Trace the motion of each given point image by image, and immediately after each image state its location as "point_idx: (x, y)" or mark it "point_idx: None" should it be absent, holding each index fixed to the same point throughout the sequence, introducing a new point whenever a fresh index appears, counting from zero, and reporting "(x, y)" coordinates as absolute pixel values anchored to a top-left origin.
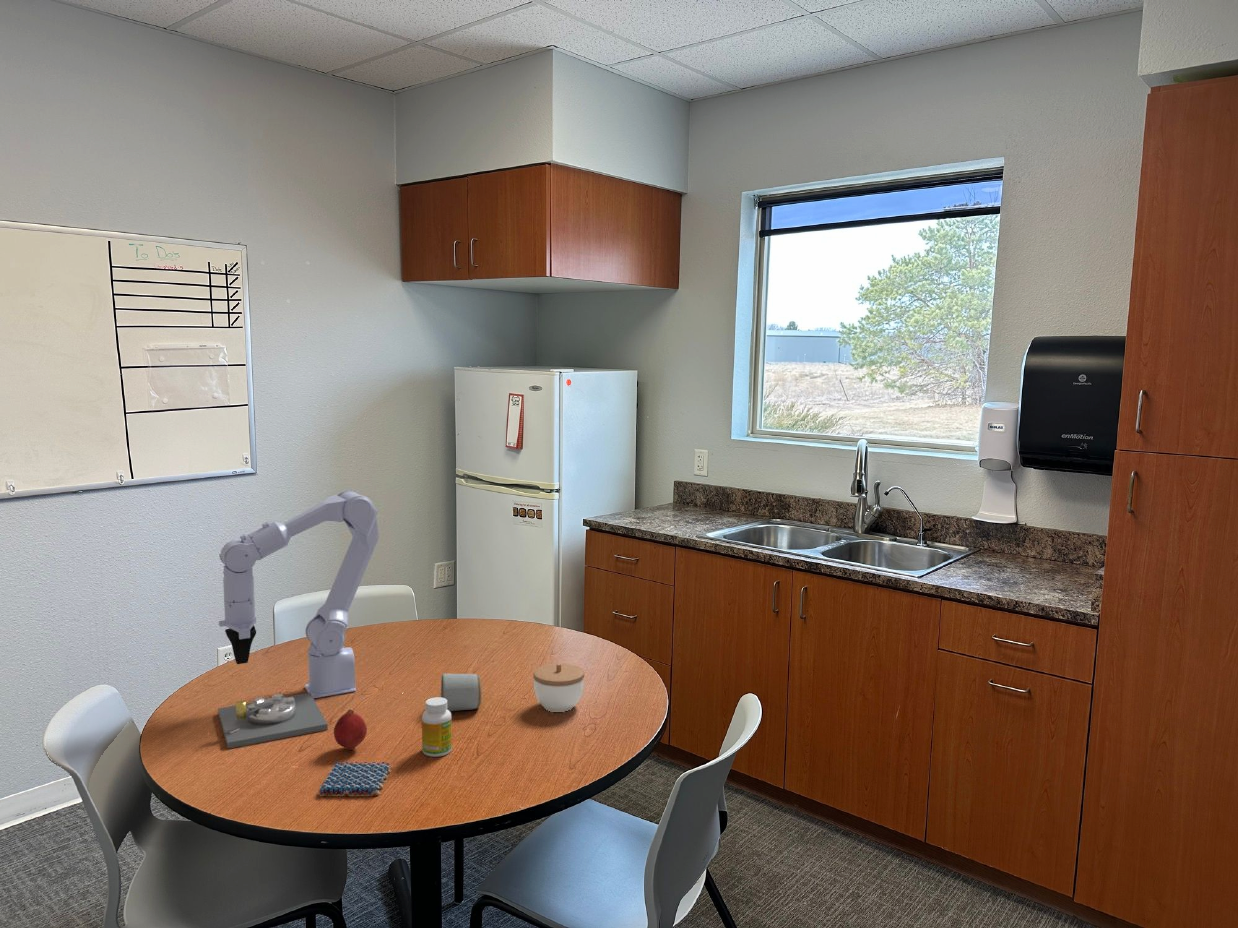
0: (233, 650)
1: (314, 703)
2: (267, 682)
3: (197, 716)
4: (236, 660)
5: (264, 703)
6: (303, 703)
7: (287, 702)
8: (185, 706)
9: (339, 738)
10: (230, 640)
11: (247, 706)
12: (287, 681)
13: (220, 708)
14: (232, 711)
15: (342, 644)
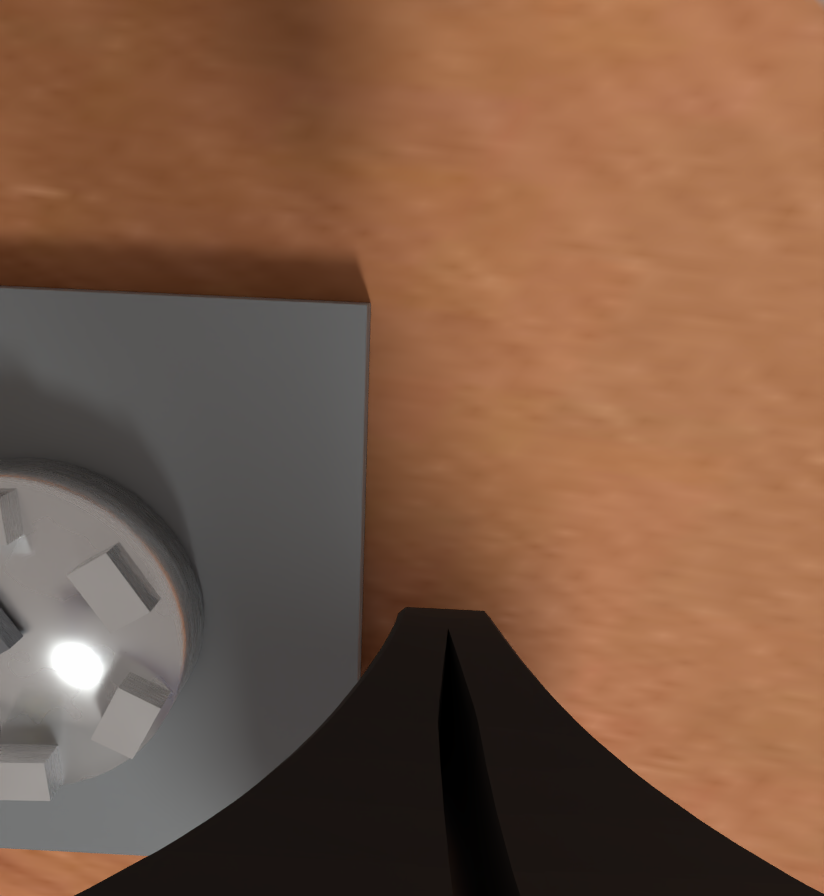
0: (341, 704)
1: (156, 847)
2: (793, 685)
3: (401, 153)
4: (391, 631)
5: (78, 611)
6: (185, 799)
7: (31, 744)
8: (669, 88)
9: None
10: (126, 872)
11: (7, 494)
12: (727, 788)
13: (356, 320)
14: (251, 390)
15: None
